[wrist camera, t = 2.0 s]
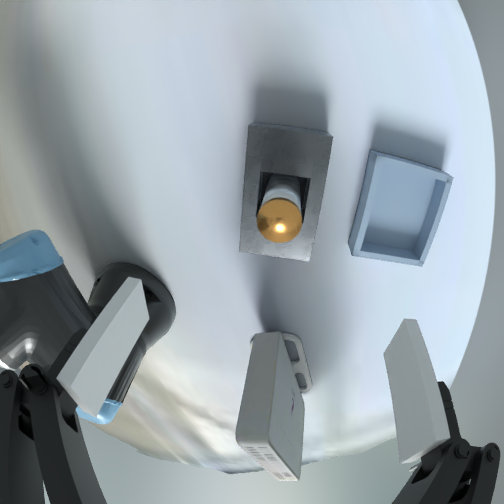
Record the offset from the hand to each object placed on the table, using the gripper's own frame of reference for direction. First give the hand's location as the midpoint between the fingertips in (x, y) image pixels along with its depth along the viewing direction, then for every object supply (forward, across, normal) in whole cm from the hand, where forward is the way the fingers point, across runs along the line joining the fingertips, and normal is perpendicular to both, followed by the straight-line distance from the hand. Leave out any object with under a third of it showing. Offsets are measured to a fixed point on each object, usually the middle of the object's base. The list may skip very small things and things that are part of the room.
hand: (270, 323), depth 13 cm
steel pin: (+21, 0, 0) cm, 21 cm away
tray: (+21, +14, 0) cm, 25 cm away
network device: (+22, +5, -33) cm, 40 cm away
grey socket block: (+21, 0, 0) cm, 21 cm away
